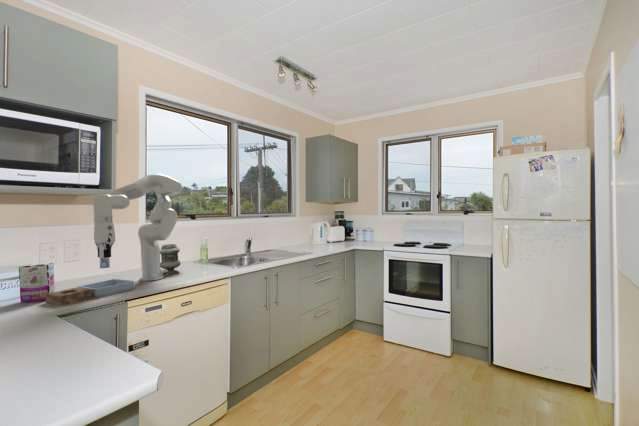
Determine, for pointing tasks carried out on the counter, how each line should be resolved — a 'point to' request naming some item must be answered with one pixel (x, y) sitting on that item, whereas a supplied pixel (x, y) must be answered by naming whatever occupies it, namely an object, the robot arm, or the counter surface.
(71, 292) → the socket block
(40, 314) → the counter surface
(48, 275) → the candy bar box
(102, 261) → the pin
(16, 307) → the counter surface
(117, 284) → the tray
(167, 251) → the stone urn
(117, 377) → the counter surface
